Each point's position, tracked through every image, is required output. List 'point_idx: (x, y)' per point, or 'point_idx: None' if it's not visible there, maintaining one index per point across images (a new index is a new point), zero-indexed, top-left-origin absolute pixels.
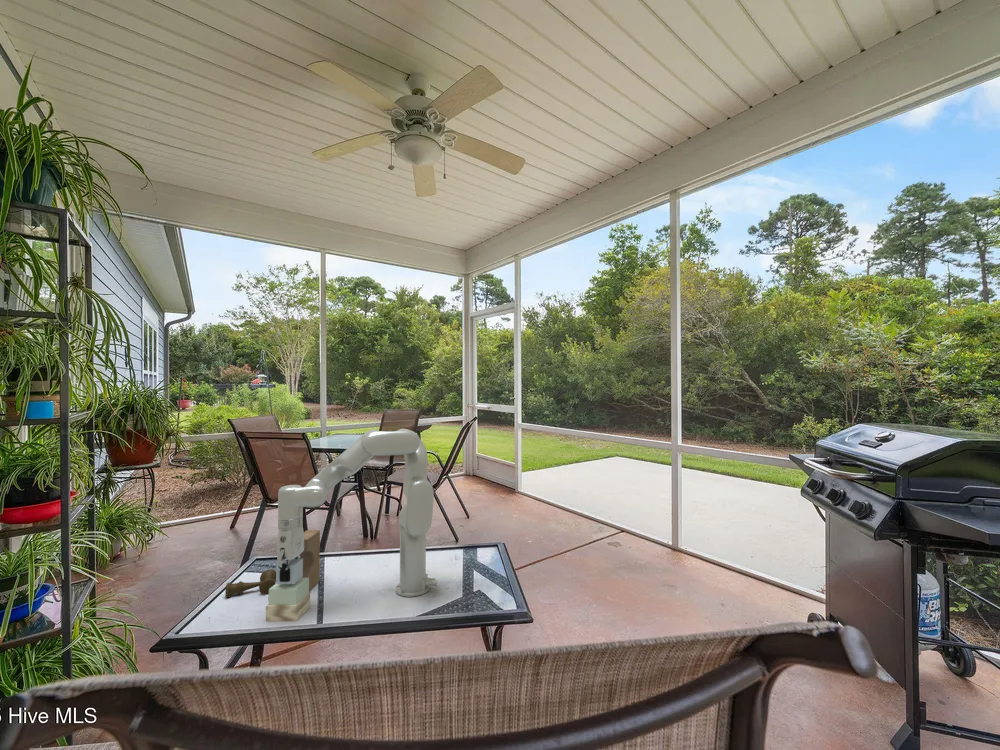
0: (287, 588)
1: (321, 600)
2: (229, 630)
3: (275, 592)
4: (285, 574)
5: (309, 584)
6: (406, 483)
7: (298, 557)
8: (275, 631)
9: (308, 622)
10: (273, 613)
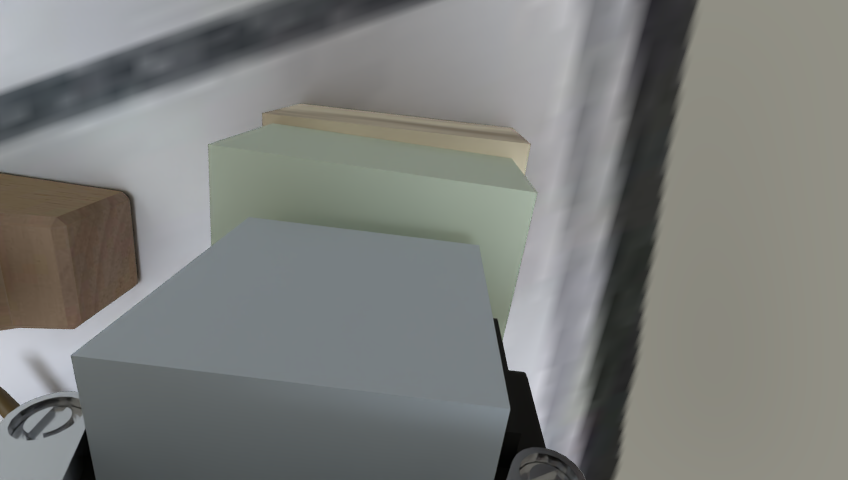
0: (491, 291)
1: (214, 40)
2: (545, 441)
3: None
4: (535, 421)
5: (44, 197)
6: None
7: (59, 459)
8: (621, 215)
9: (551, 29)
10: None
